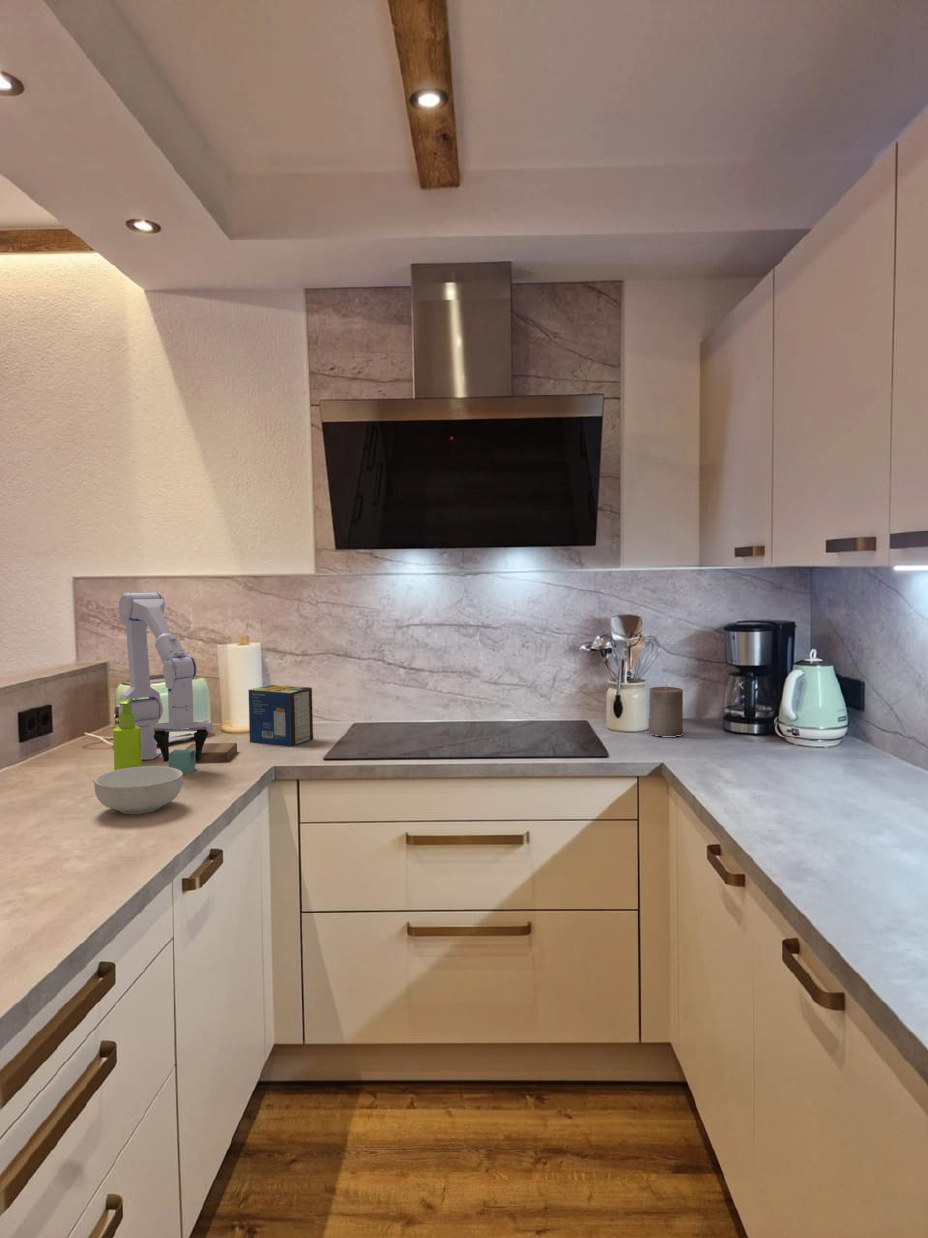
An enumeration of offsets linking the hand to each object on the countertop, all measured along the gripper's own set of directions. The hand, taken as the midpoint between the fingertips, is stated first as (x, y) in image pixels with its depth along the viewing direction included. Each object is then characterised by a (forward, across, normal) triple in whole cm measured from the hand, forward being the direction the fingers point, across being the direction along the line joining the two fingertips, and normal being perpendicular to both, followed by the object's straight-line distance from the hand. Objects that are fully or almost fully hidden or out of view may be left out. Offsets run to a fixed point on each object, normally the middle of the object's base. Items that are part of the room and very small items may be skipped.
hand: (182, 760), depth 198 cm
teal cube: (+3, 0, 0) cm, 3 cm away
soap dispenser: (+3, -9, -12) cm, 15 cm away
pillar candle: (+3, +132, +30) cm, 135 cm away
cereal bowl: (+3, 0, -32) cm, 32 cm away
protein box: (+3, +19, +34) cm, 39 cm away
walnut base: (+3, +3, +15) cm, 16 cm away
